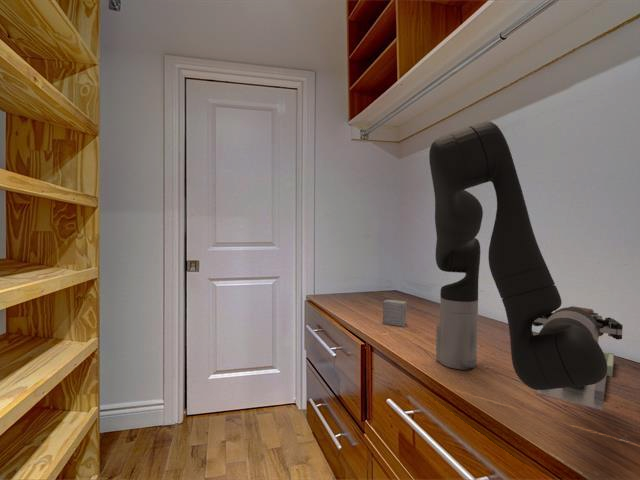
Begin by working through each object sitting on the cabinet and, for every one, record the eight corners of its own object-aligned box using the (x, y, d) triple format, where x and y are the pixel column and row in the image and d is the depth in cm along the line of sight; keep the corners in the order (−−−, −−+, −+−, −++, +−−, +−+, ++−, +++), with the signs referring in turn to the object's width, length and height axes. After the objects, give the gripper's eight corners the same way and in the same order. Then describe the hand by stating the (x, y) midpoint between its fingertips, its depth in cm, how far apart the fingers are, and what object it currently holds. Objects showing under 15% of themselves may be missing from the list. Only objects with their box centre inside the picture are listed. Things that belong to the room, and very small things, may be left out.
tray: (612, 376, 84) (612, 366, 84) (548, 363, 93) (548, 353, 93) (613, 363, 94) (613, 353, 94) (554, 351, 102) (555, 343, 102)
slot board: (602, 412, 69) (602, 400, 68) (536, 394, 76) (536, 384, 76) (608, 364, 94) (608, 355, 94) (559, 354, 101) (559, 346, 101)
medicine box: (406, 324, 132) (407, 301, 132) (402, 327, 128) (403, 303, 128) (386, 321, 136) (386, 299, 136) (382, 324, 132) (382, 301, 132)
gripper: (626, 318, 55) (626, 302, 68) (522, 305, 64) (539, 293, 77) (625, 366, 55) (624, 341, 68) (521, 346, 65) (538, 327, 78)
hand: (579, 315), depth 73 cm, fingers closed on wooden block, 4 cm apart
